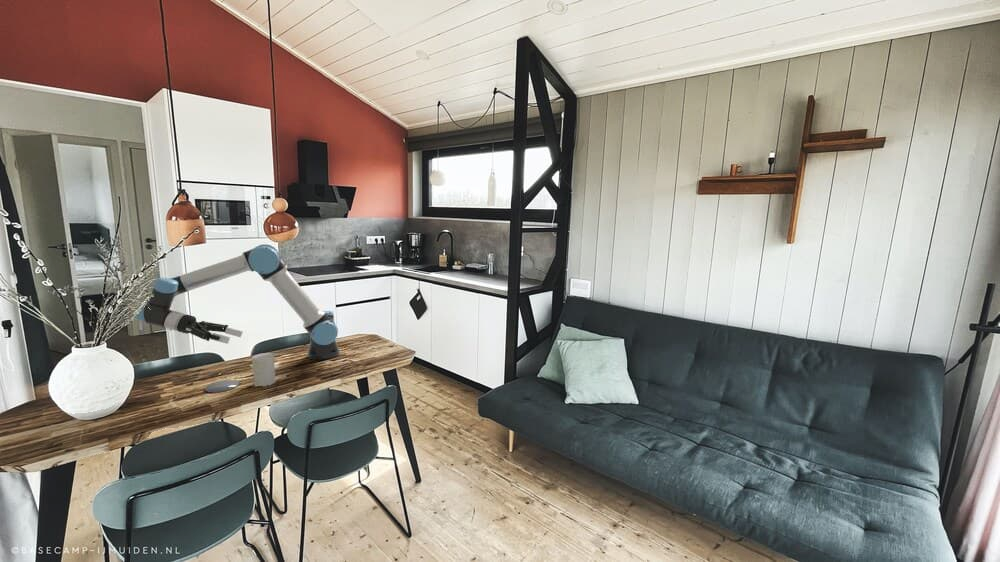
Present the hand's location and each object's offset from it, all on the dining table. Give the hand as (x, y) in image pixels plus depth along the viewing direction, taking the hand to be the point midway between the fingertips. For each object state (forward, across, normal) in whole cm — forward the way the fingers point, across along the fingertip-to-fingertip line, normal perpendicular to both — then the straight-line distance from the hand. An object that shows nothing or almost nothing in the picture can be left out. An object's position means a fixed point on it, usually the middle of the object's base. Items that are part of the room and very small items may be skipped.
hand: (235, 337), depth 179 cm
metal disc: (+2, +2, -21) cm, 21 cm away
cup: (+17, +1, -16) cm, 23 cm away
